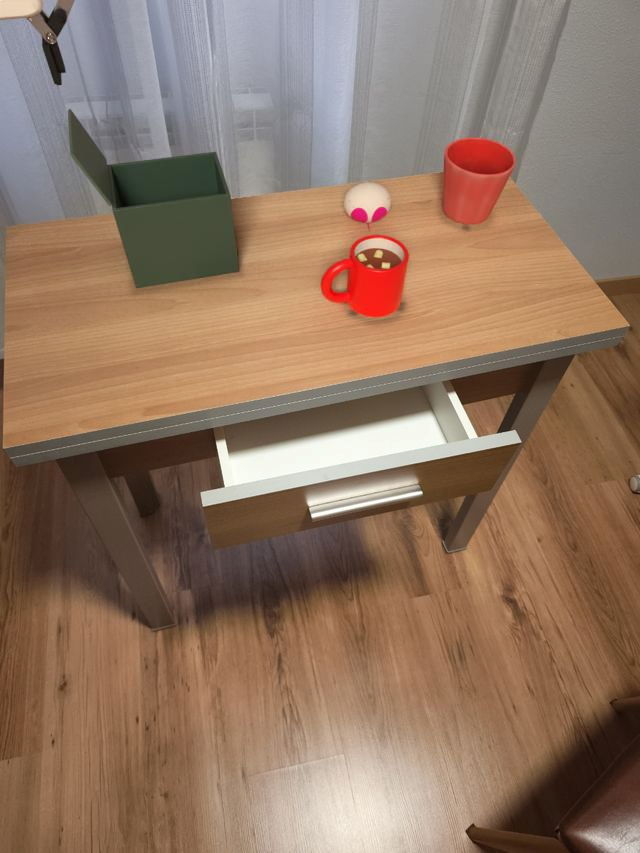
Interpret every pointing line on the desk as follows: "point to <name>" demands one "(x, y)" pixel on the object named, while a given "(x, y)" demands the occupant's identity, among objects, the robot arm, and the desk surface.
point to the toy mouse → (367, 202)
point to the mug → (370, 276)
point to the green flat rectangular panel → (88, 157)
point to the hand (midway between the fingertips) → (20, 82)
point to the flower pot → (474, 178)
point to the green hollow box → (174, 218)
